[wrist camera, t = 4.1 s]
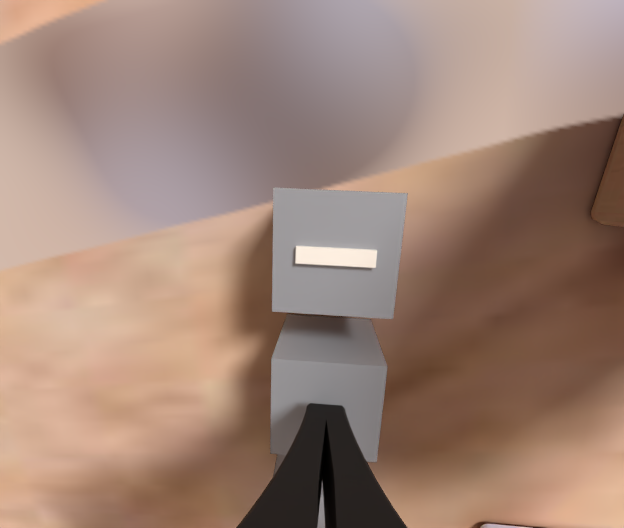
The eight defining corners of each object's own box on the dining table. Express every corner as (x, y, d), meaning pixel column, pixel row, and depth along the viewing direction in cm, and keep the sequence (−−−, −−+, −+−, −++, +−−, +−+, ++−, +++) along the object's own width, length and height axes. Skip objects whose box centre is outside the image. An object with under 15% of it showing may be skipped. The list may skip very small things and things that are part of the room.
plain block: (370, 318, 15) (387, 366, 11) (363, 391, 16) (376, 462, 12) (287, 313, 16) (271, 358, 11) (285, 386, 17) (270, 453, 12)
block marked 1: (382, 194, 14) (409, 193, 9) (374, 283, 15) (394, 321, 10) (290, 190, 14) (272, 187, 10) (288, 278, 15) (271, 313, 11)
